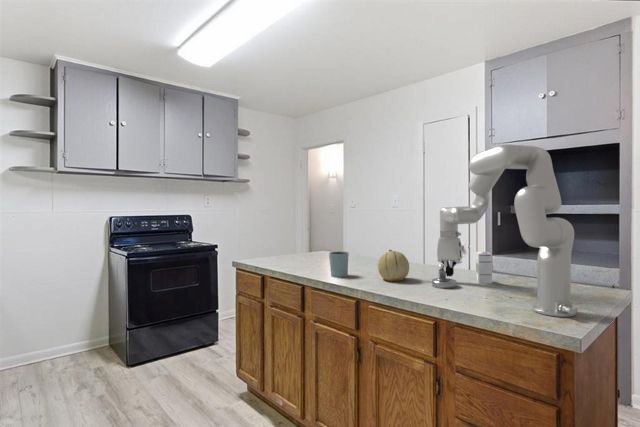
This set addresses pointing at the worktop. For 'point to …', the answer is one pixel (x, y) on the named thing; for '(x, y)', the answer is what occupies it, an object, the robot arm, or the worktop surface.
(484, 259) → the syrup box
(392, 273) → the cantaloupe
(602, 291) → the worktop surface
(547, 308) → the robot arm
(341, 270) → the drinking glass
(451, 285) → the silver door handle
